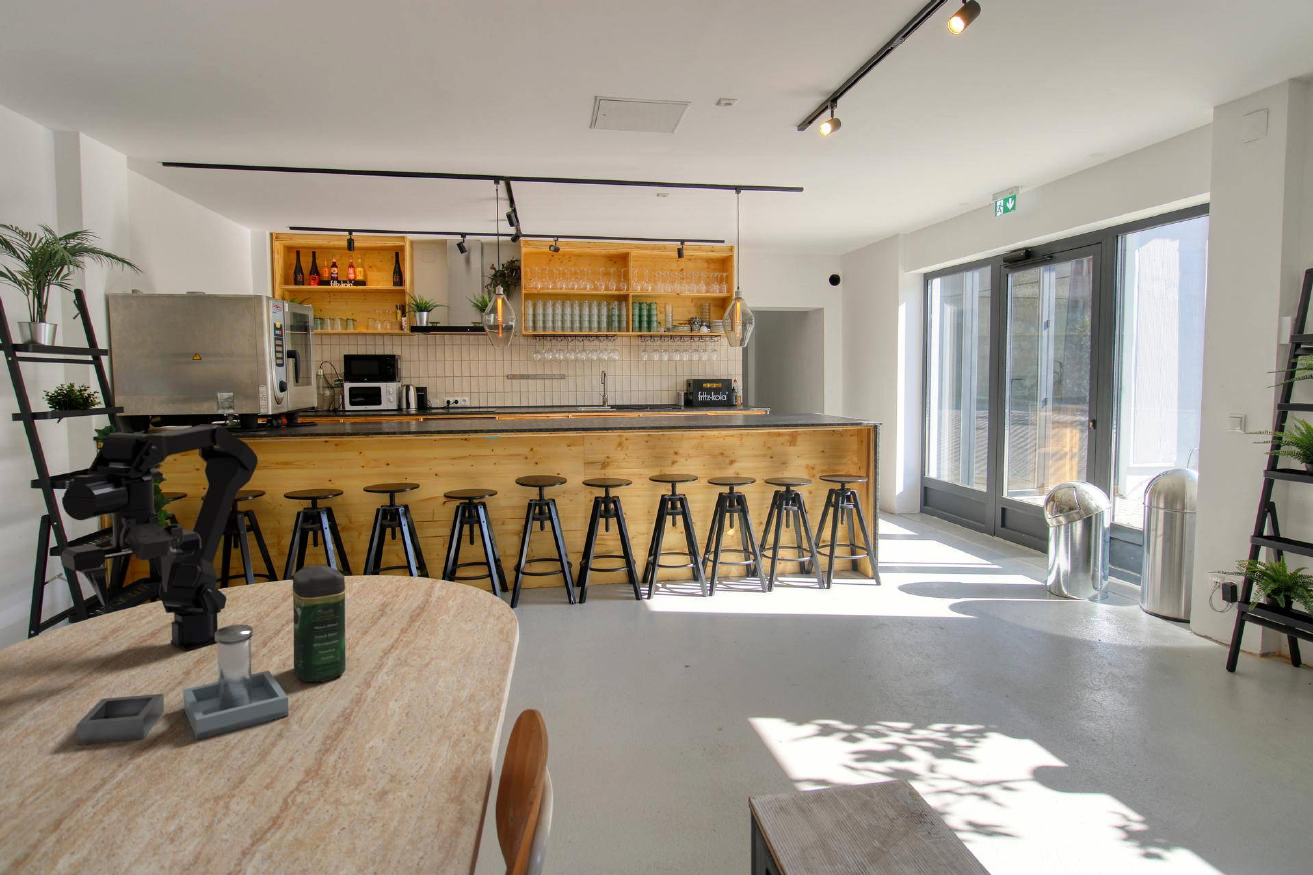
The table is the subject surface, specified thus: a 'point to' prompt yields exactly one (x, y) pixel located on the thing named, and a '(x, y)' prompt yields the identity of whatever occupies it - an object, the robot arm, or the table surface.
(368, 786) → the table surface
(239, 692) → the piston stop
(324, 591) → the coffee jar
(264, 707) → the parts tray
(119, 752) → the table surface
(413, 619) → the table surface
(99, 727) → the grey square tray
